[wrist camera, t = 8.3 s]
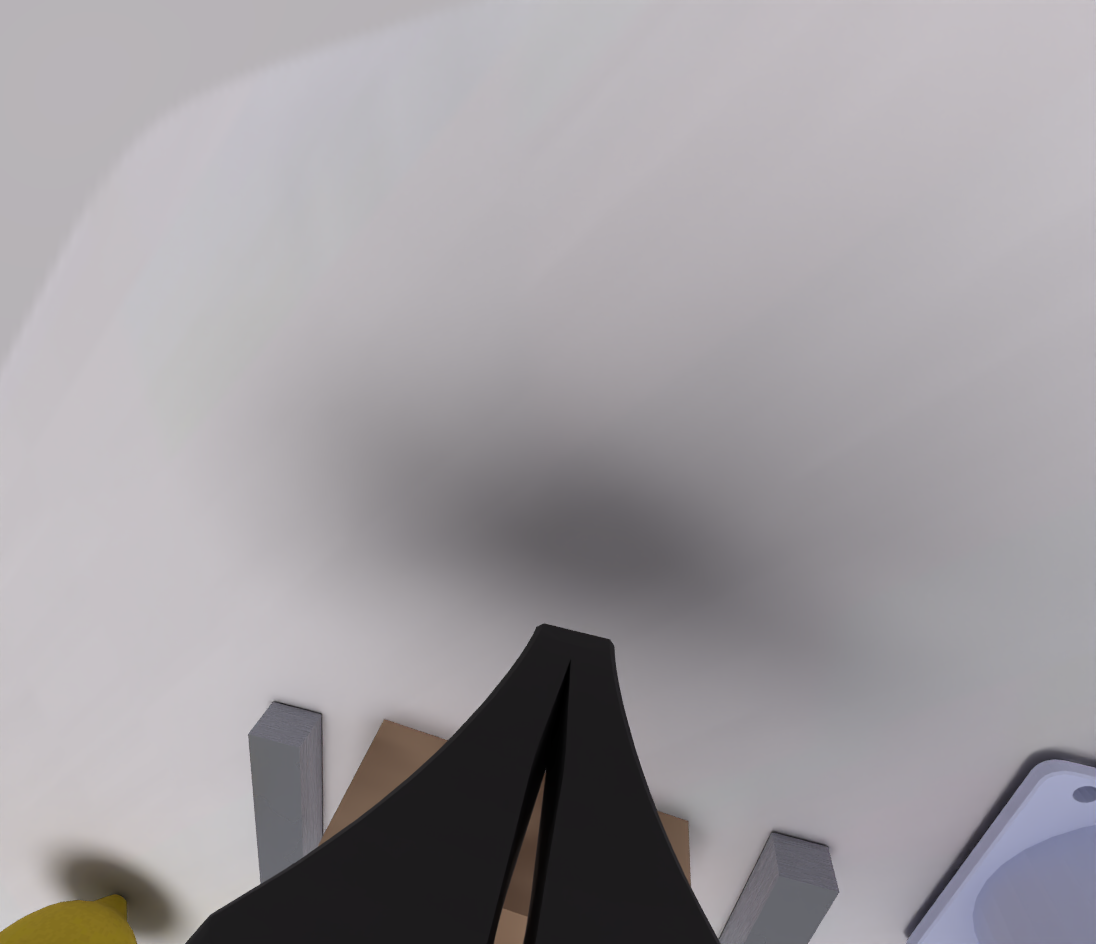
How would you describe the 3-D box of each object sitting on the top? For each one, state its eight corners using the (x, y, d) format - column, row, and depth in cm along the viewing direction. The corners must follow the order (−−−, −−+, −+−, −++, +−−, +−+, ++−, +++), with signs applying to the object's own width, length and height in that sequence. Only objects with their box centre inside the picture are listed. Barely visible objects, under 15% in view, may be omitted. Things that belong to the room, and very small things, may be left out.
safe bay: (828, 847, 17) (839, 892, 16) (741, 999, 20) (746, 1044, 19) (273, 701, 18) (248, 734, 17) (282, 867, 22) (262, 903, 21)
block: (687, 812, 18) (693, 974, 14) (623, 926, 20) (614, 1085, 17) (387, 712, 18) (318, 844, 14) (363, 837, 21) (300, 974, 17)
